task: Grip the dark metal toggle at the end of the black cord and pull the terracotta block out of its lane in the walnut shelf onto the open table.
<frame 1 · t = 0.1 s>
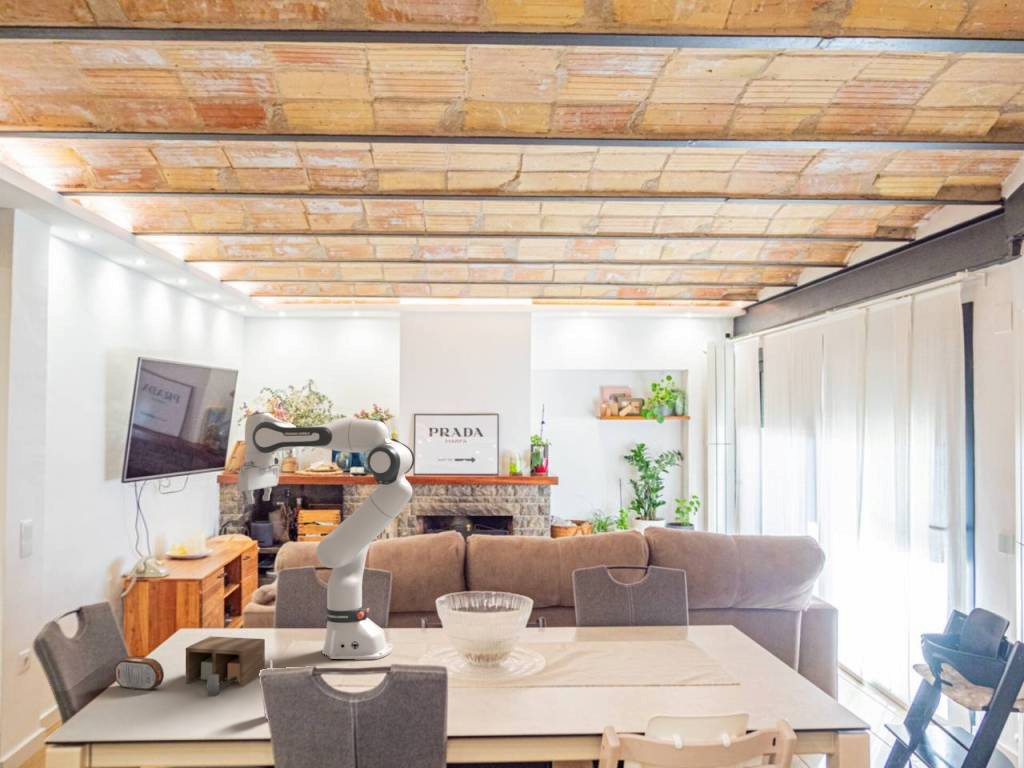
hand: (258, 502, 261), 48 cm above the table, tool pointing down, fingers open, 8 cm apart
smoothie: (272, 717, 198), on the table
tin: (138, 689, 221), on the table
pull block: (241, 677, 228), on the table
green block: (214, 676, 230), resting in shelf unit
shelf unit: (225, 677, 228), on the table
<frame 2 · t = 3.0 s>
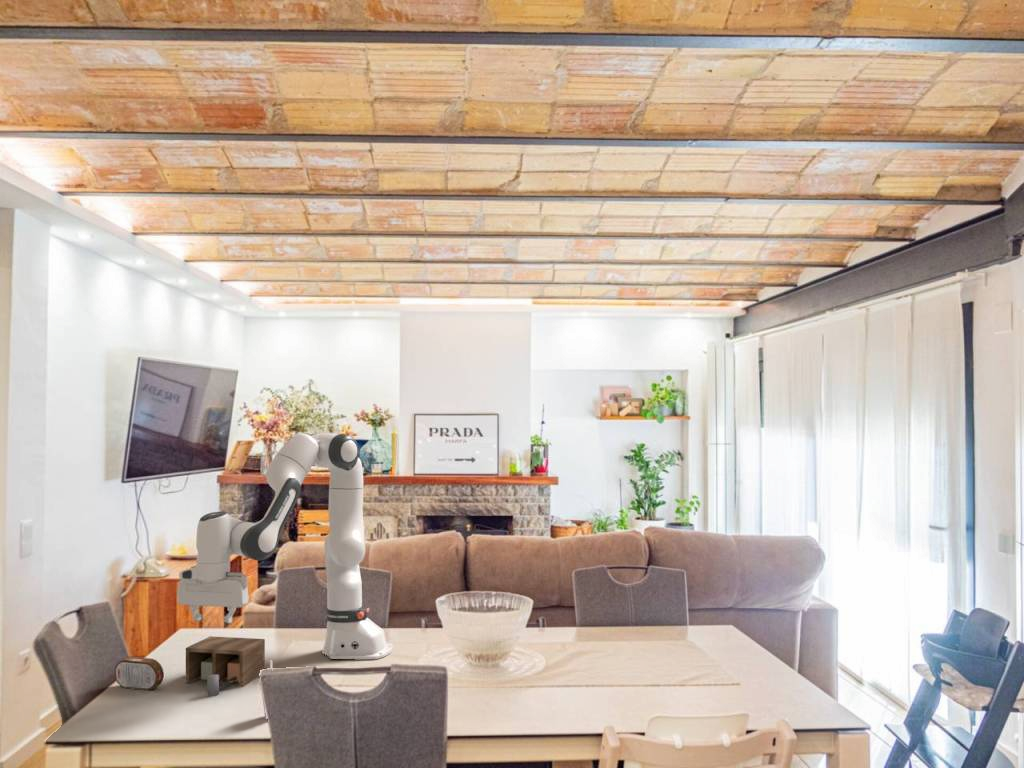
hand: (212, 621, 215), 20 cm above the table, tool pointing down, fingers open, 8 cm apart
nothing on the table moved.
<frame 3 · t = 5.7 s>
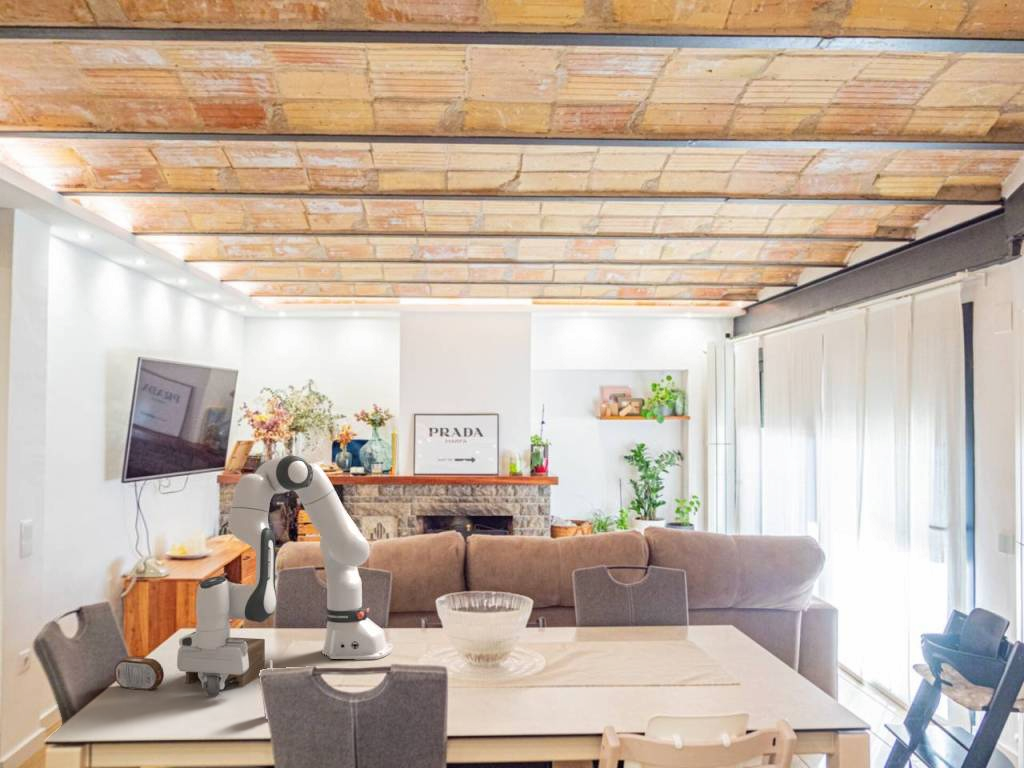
hand: (213, 688, 215), 2 cm above the table, tool pointing down, fingers closed on pull block, 3 cm apart
pull block: (241, 677, 228), on the table, touching gripper
everything else where it was.
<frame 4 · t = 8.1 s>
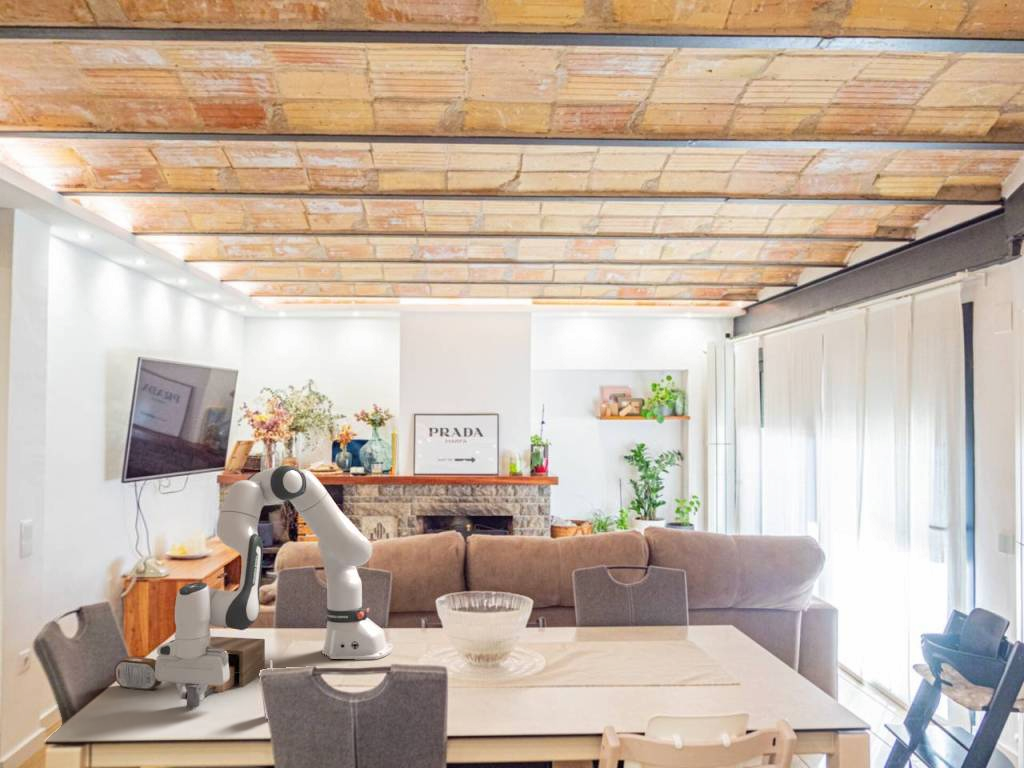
hand: (192, 699, 206), 2 cm above the table, tool pointing down, fingers closed on pull block, 3 cm apart
pull block: (220, 687, 220), on the table, touching gripper
everything else where it was.
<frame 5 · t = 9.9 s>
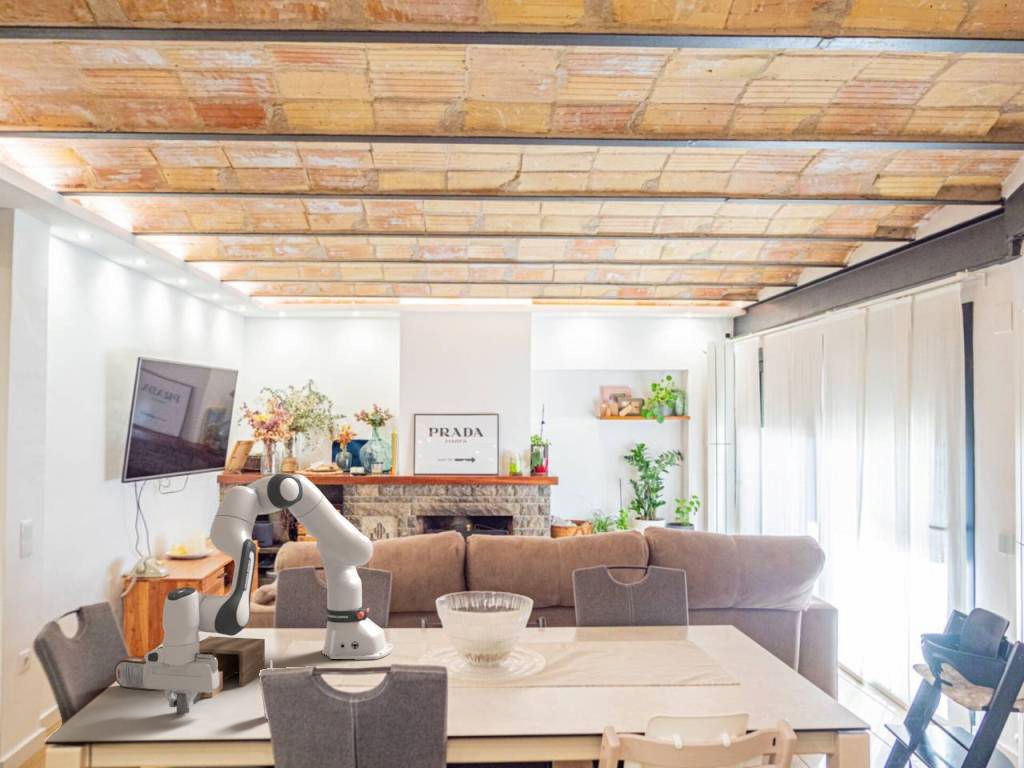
hand: (181, 707, 201), 2 cm above the table, tool pointing down, fingers closed on pull block, 3 cm apart
pull block: (208, 693, 216), on the table, touching gripper
everything else where it was.
when the fingers open (2 cm above the table, at t = 10.6 s): pull block stays where it is, on the table.
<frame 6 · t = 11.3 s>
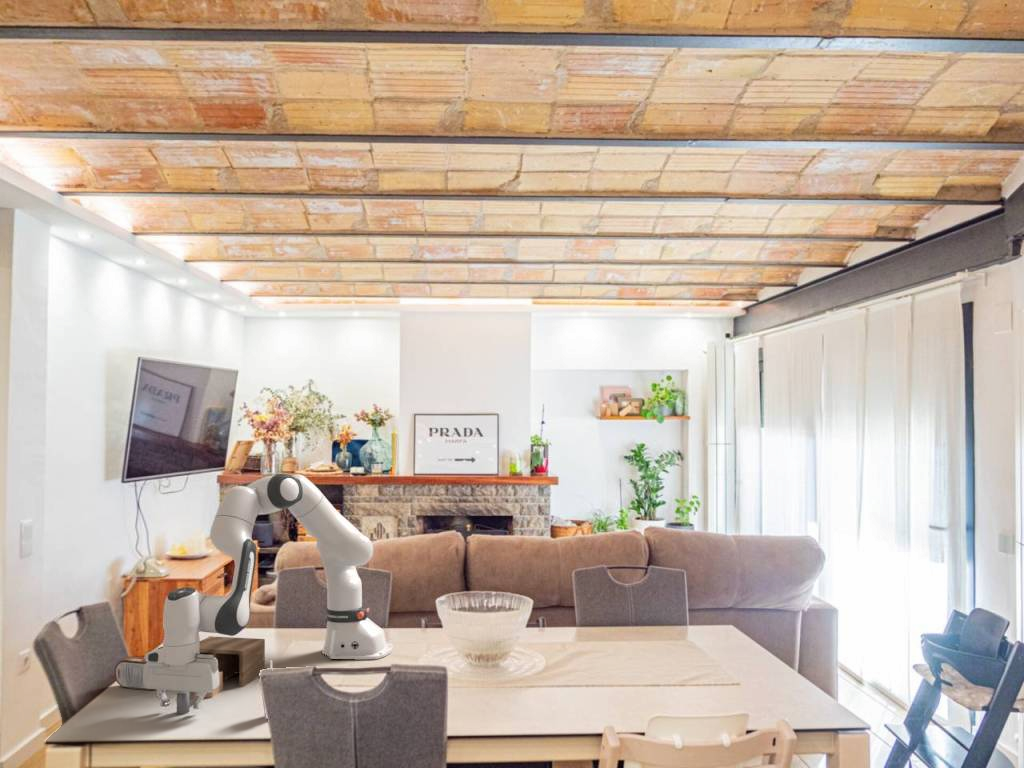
hand: (181, 707, 201), 2 cm above the table, tool pointing down, fingers open, 8 cm apart
pull block: (208, 693, 216), on the table
everything else where it was.
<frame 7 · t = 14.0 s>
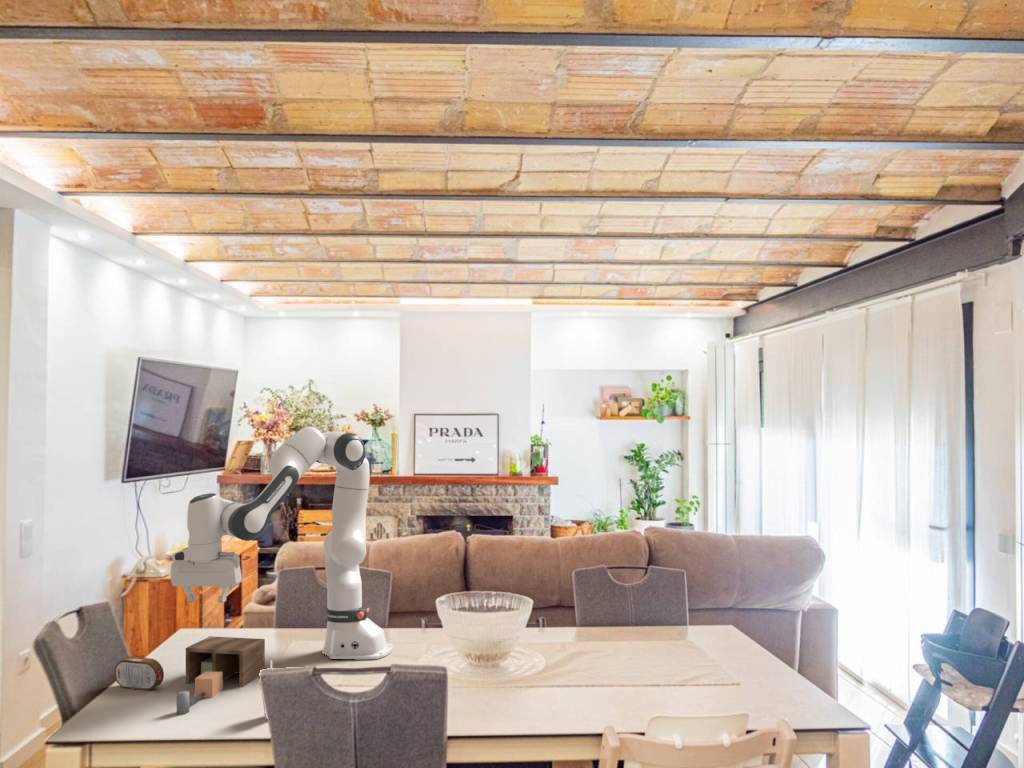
hand: (207, 601, 219), 25 cm above the table, tool pointing down, fingers open, 8 cm apart
nothing on the table moved.
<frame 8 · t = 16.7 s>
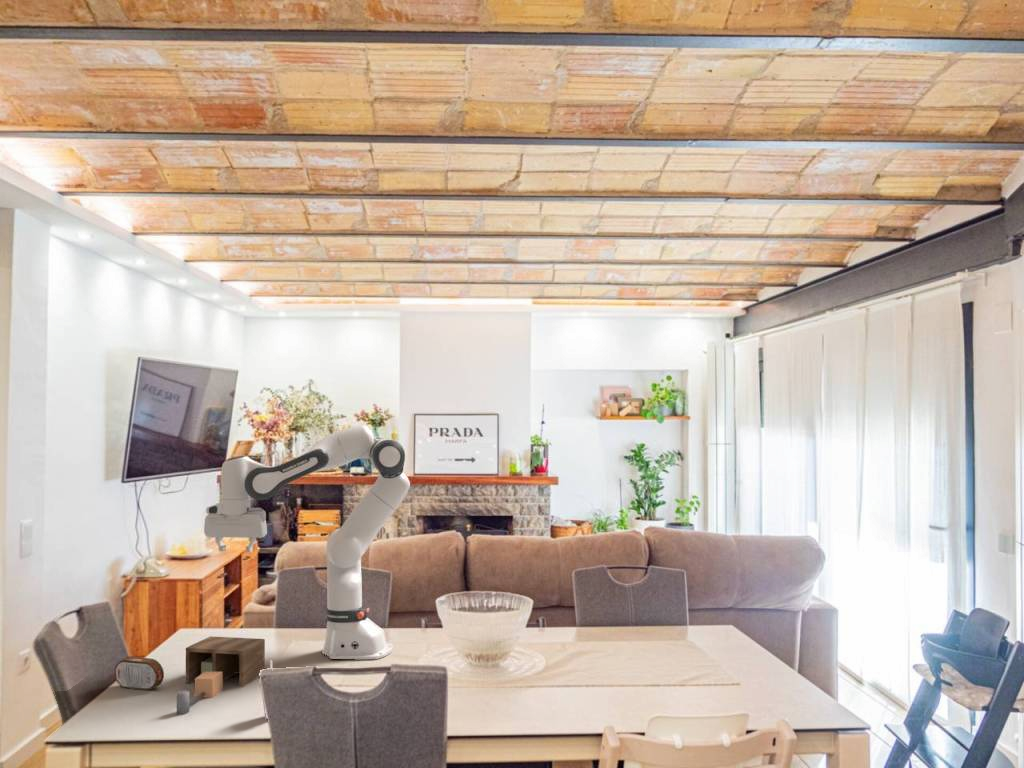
hand: (235, 551, 246), 34 cm above the table, tool pointing down, fingers open, 8 cm apart
nothing on the table moved.
at the end: pull block inside the target area (2.2 cm from its centre), on the table; pull block tilted 0°; the gripper is holding nothing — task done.
